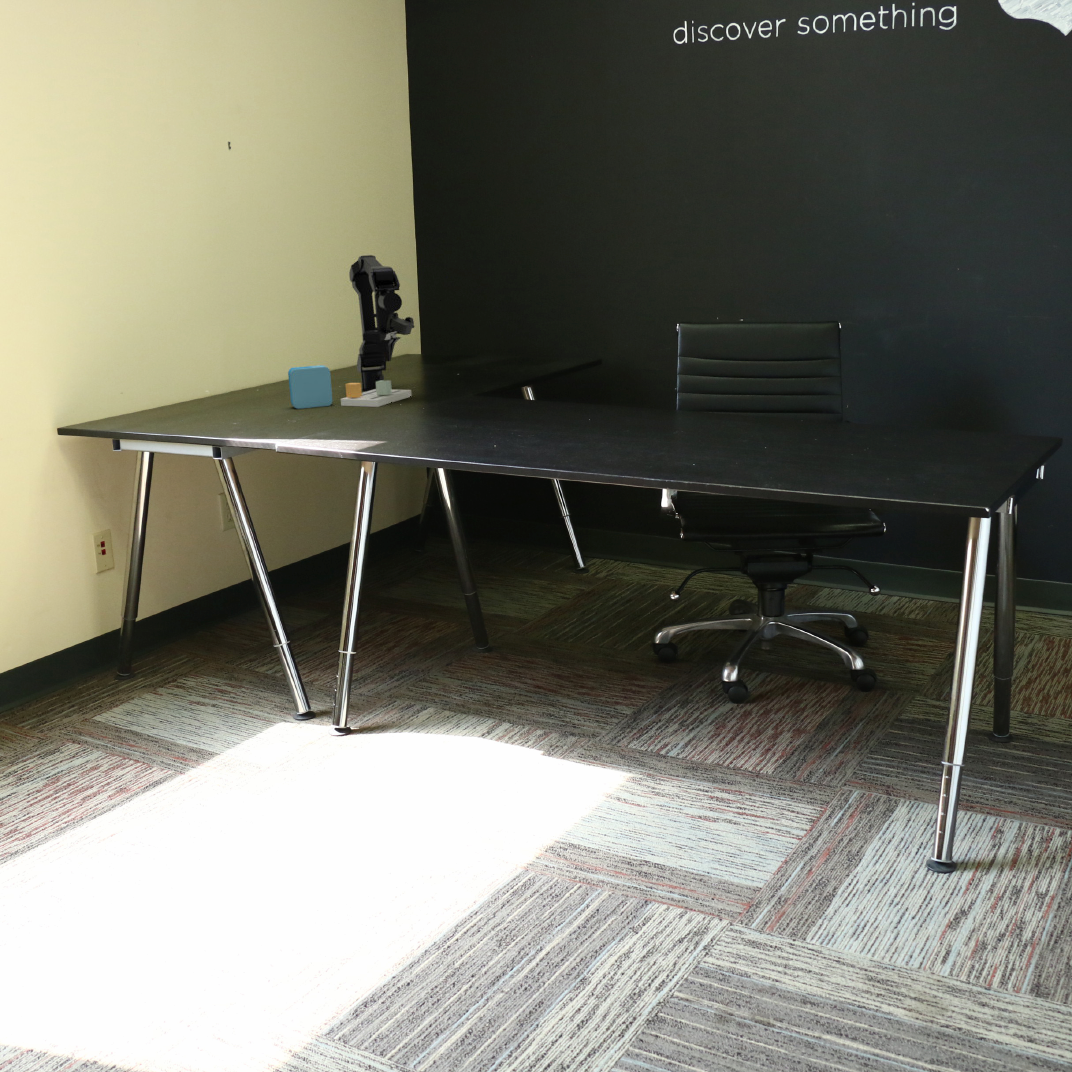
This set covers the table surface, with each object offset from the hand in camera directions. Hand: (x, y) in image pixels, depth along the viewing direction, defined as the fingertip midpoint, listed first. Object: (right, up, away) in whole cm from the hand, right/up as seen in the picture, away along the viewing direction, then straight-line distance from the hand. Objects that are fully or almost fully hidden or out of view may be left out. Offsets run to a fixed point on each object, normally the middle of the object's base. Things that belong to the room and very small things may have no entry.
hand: (388, 361), depth 361 cm
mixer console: (-4, -12, +2) cm, 13 cm away
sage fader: (-1, -10, -1) cm, 10 cm away
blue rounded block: (-23, -15, -4) cm, 27 cm away
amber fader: (-10, -11, -4) cm, 16 cm away
